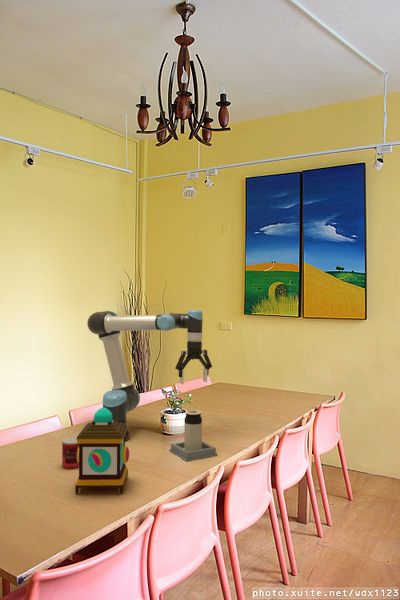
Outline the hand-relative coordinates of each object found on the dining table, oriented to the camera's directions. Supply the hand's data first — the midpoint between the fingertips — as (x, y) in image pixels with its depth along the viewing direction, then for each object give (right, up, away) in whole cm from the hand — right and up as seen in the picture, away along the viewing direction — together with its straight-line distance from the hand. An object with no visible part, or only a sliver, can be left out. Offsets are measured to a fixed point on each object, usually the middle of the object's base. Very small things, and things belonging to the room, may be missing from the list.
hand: (193, 382), depth 255 cm
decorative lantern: (-34, -29, -63) cm, 77 cm away
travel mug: (0, -28, -24) cm, 36 cm away
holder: (0, -29, -24) cm, 37 cm away
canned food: (-51, -29, -41) cm, 72 cm away
